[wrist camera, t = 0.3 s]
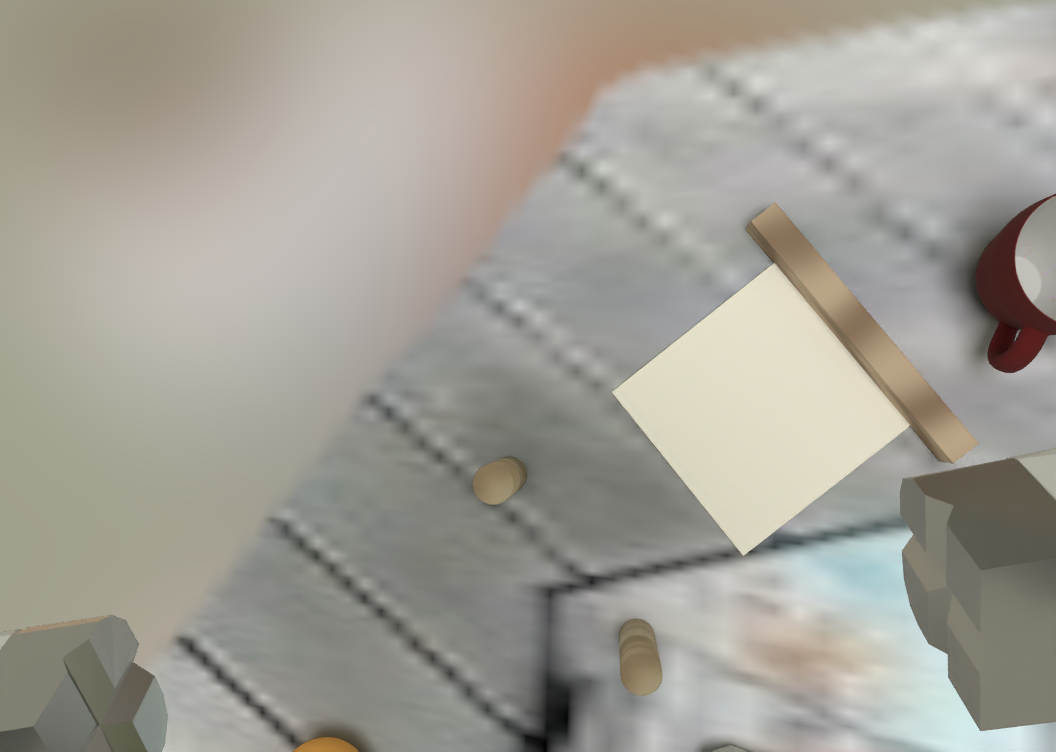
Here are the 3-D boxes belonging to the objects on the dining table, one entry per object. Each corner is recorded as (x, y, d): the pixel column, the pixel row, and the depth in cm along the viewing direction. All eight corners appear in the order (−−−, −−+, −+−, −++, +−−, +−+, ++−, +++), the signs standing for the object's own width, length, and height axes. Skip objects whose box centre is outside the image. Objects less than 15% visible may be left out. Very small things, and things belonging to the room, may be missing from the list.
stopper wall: (963, 442, 61) (978, 443, 58) (939, 461, 61) (953, 463, 58) (768, 210, 62) (775, 202, 60) (745, 229, 62) (751, 221, 60)
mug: (1045, 395, 60) (1131, 391, 50) (922, 361, 61) (983, 351, 51) (1088, 241, 60) (1182, 207, 51) (965, 209, 61) (1034, 169, 51)
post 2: (662, 640, 62) (671, 678, 53) (634, 662, 62) (638, 704, 53) (639, 611, 62) (644, 645, 53) (611, 633, 62) (612, 670, 53)
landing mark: (909, 425, 61) (910, 425, 61) (742, 555, 62) (743, 555, 61) (773, 263, 62) (774, 262, 62) (611, 392, 63) (611, 392, 63)
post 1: (533, 477, 63) (521, 487, 54) (506, 498, 63) (489, 512, 54) (512, 449, 63) (496, 455, 54) (485, 471, 63) (464, 480, 54)
